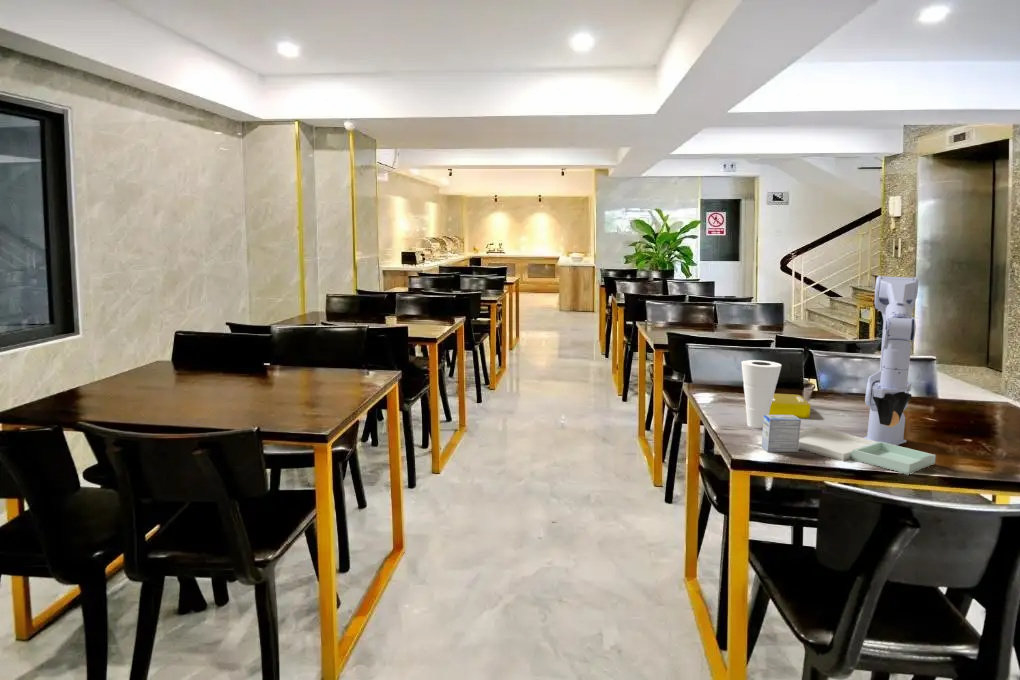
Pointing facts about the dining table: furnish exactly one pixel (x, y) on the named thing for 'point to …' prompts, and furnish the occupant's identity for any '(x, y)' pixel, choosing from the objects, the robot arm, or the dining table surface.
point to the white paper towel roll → (759, 389)
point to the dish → (893, 457)
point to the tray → (830, 442)
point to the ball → (894, 420)
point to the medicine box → (781, 433)
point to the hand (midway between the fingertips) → (889, 423)
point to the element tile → (790, 405)
